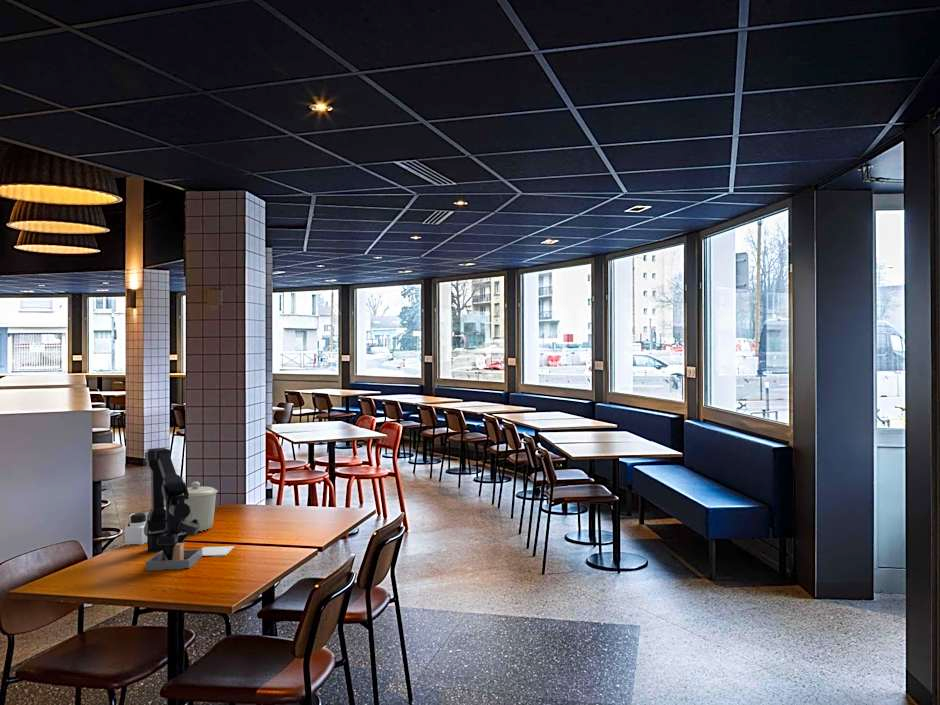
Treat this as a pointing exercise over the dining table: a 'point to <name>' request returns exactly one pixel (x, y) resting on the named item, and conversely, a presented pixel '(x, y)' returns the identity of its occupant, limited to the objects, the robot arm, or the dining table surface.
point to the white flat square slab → (216, 551)
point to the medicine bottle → (136, 529)
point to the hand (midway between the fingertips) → (174, 557)
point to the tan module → (178, 552)
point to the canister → (201, 505)
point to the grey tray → (161, 564)
